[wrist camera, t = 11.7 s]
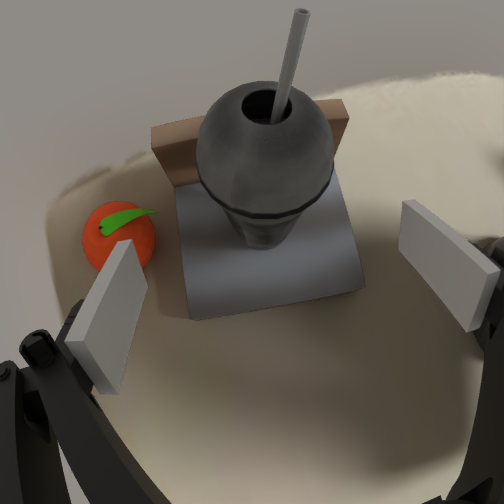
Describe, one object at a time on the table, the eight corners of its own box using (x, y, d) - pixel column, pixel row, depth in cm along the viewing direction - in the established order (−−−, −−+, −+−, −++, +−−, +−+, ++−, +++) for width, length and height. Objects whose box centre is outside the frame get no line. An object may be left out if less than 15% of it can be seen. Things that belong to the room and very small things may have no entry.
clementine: (159, 199, 31) (134, 167, 24) (185, 258, 29) (163, 237, 23) (95, 235, 30) (59, 213, 23) (116, 294, 29) (79, 284, 22)
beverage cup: (207, 207, 27) (131, 8, 8) (280, 174, 28) (305, -33, 8) (242, 281, 26) (196, 139, 6) (319, 244, 26) (432, 68, 7)
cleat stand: (180, 183, 31) (150, 127, 22) (321, 159, 31) (341, 98, 22) (197, 320, 28) (165, 315, 18) (355, 290, 28) (399, 271, 18)
